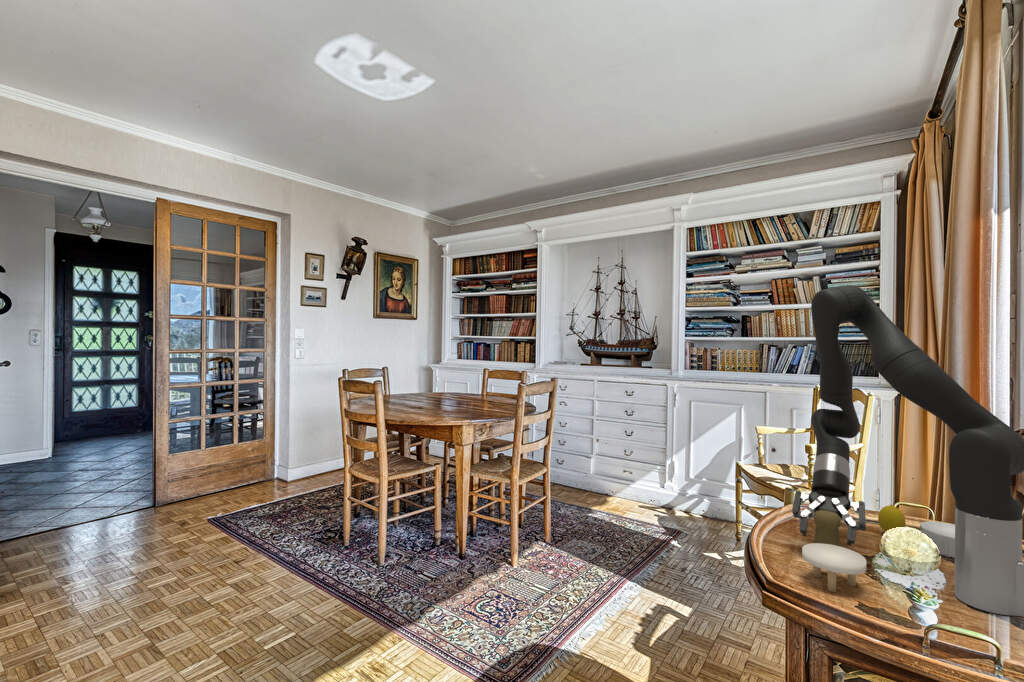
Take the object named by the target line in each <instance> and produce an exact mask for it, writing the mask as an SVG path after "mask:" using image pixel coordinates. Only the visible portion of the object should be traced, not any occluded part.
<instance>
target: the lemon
mask: <svg viewBox="0 0 1024 682" xmlns="http://www.w3.org/2000/svg"><path fill="white" fill-rule="evenodd" d="M877 518H878V519H877V521H878V525H879V527H880V529H881V530H882V531H884V532H885V531H887V530H889V529H892V528H896V527H905V528H906V525H907V523H906V522H907V521H906V517H905V514H904V513H903V511H902V510H901V509H900V508H898V507H897V506H894V505H893V504H889V505H885V506H883V507H882V508H881V509H880V510H879V513H878V516H877Z"/></svg>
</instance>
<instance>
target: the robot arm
mask: <svg viewBox="0 0 1024 682" xmlns="http://www.w3.org/2000/svg"><path fill="white" fill-rule="evenodd" d="M810 303H811V305H810V308H811V310H810V311H811V319H812V324H813V329H814V330H813V331H814V336H815V343H816V347H817V352H818V360H819V398H820V400H821V401H822V402H824V403H826V404H829V405H831V406H832V405H833V406H835V407H837V408H840V409H841V410H840V409H832V408H830V409H829V408H818V409H816V410H815V411H813V413H812V415H811V420H810V422H811V425H812V429H813V434H814V437H815V441H816V452H815V461H814V463H813V469H812V479H811V480H812V481H811V489H810V492H809V494H806V493H802V491H800V490H796V491H795V494H794V498H793V499H794V500H793V504H792V509H791V511H792V516H793V517H794V518H795V519H797V518H798V520H799V528H798V529H799V533H800V534H802V537H807V536H808V535H807V534H808V524H809V520H811V518H814V514H815V512H816V511H819V510H826V511H831V512H834V513H836V514H838V515H839V517H840V519H841V522H843V524H844V525H846V526H847V537H846V540H847V543H846V544H847V546H849V547H852V545H855V544H856V538H857V537H856V532H857V531H862V532H863V531H864V532H865V531H866V530H867V521H866V520H867V518H866V517H867V516H866V502H864V501H863V500H859V501H858V502H854V501H851V500H850V481H851V470H850V469H851V468H850V458H851V457H850V455H851V454H850V453H851V451H850V450H851V447H850V445H849V443H848V442H847V441H846V440H845V439H853V438H855V437H856V436H857V435H858V434H859V432H860V430H861V425H860V420H859V417H858V414H857V412H856V409H855V404H854V400H853V385H854V384H853V379H854V378H853V377H854V375H853V369H852V365H851V364H850V361H849V359H848V358H847V357H846V355H845V354H844V352H843V349H842V348H841V345H840V343H839V327H840V325H844V324H848V323H850V324H852V325H853V326H854V327H856V328H857V329H858V330H859V331H860V332H861V333H862V334H863V335H864V336H865V337H866V339H867V341H868V342H869V346H870V352H871V359H872V362H873V366H874V367H875V369H876V372H878V373H879V375H880V376H881V377H882V378H883V379H884V380H885V381H886V382H887V383H888V384H889V385H890V386H891V387H892V388H893V390H895V391H896V392H897V393H898V394H900V395H901V396H902V397H904V398H905V399H906V400H909V401H910V402H912V403H913V404H915V405H917V406H918V407H919V408H921V409H923V410H925V411H927V412H928V413H930V414H932V415H934V416H935V417H937V418H938V419H939V420H940V421H942V422H943V423H944V424H946V425H947V427H948V428H949V429H951V431H953V433H954V434H955V435H954V436H953V437H952V439H951V441H950V444H949V449H948V470H949V472H948V473H949V475H948V476H949V487H950V491H951V494H952V495H953V498H954V508H955V509H954V524H955V558H954V583H953V585H954V596H955V597H956V598H957V599H958V600H959V601H961V602H962V603H964V604H966V605H967V606H970V607H973V608H975V609H977V610H981V611H985V612H989V613H991V614H992V613H993V614H997V615H1003V616H1016V617H1017V616H1018V617H1022V618H1024V561H1023V518H1024V517H1023V515H1024V514H1023V511H1024V510H1023V505H1022V503H1021V502H1020V501H1019V500H1017V499H1016V498H1014V497H1013V494H1012V482H1011V481H1012V479H1011V477H1012V476H1013V475H1018V474H1021V473H1023V472H1024V437H1023V436H1022V435H1020V434H1019V432H1017V431H1016V430H1015V429H1013V428H1012V427H1010V426H1009V425H1007V424H1006V422H1004V421H1002V420H1001V419H999V418H998V417H997V416H996V415H994V414H993V413H992V412H991V411H989V410H988V409H986V407H984V406H983V405H981V404H980V403H979V402H978V401H977V400H976V399H975V398H973V396H971V395H970V393H968V392H967V391H966V390H965V389H964V387H962V386H961V385H960V384H959V383H958V382H957V381H955V379H954V378H953V377H951V375H949V374H948V373H947V372H946V371H945V370H944V369H943V368H942V367H941V366H940V365H939V364H938V363H937V362H936V361H935V360H933V358H932V357H930V356H929V354H927V353H926V352H925V351H924V350H923V349H922V348H920V347H919V345H917V344H916V343H915V342H913V340H911V338H910V337H908V336H907V335H906V334H905V333H904V332H903V331H902V330H901V329H900V328H899V327H898V326H897V325H896V324H895V323H894V322H893V320H891V319H890V318H889V317H888V316H887V314H886V313H885V312H884V311H883V309H881V307H879V305H878V304H877V303H876V302H875V301H874V299H873V298H872V297H871V295H869V294H868V293H867V292H866V291H865V290H864V289H862V288H861V287H859V286H857V285H852V284H845V285H840V286H835V287H829V288H824V289H821V290H819V291H817V292H816V293H815V294H814V295H813V297H812V300H811V302H810ZM806 501H808V502H809V503H810V504H809V505H807V506H806V508H805V509H804V510H802V511H801V507H802V504H805V502H806ZM851 508H852V509H853V510H854V512H855V513H857V514H858V521H855V520H854V519H853V518H852V517H851V515H850V514H849V512H848V511H849V510H850V509H851Z"/></svg>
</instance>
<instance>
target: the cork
mask: <svg viewBox="0 0 1024 682" xmlns="http://www.w3.org/2000/svg"><path fill="white" fill-rule="evenodd" d="M813 521H814V523H815V525H816V526H815V533H814V539H813V543H822V544H830V545H836V546H840V547H841V542H840V533H839V528H840V526H841V523H842V520H841V519H840V517H839V515H838V514H836V513H834V512H831V511H826V510H819V511H816V512H815V514H814V517H813Z"/></svg>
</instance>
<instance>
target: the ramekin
mask: <svg viewBox="0 0 1024 682" xmlns="http://www.w3.org/2000/svg"><path fill="white" fill-rule="evenodd" d="M919 529H920V532H921V534H922V533H924V534H926V535H927V536H928V537H929V538H931V539H932V540H933V542H934V543H935V544H936V545H937V547H938V549H939V551H940V554H941V556H944V557H947V558H951V557H952V559H955V523H948V522H943V521H934V520H933V521H932V520H931V521H927V520H926V521H922V522H919ZM940 554H939V555H940Z"/></svg>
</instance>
